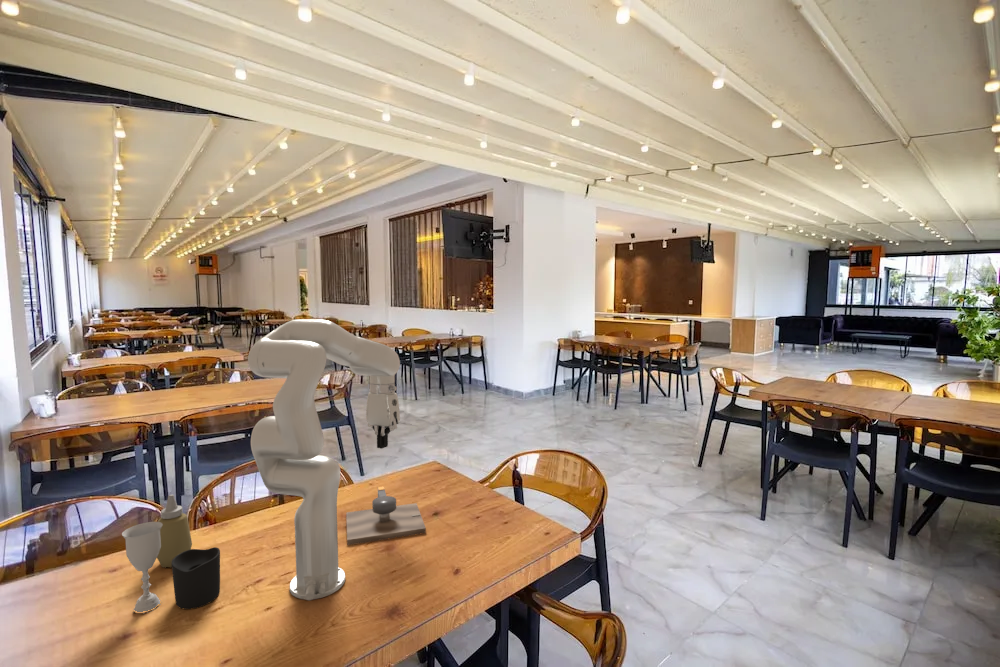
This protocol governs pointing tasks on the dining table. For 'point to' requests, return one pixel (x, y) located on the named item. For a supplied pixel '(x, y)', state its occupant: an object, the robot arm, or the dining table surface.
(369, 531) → the board
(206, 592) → the pen holder
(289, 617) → the dining table surface
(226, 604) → the dining table surface
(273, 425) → the robot arm
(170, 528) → the squeeze bottle
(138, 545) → the chalice
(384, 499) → the grey knob lever
